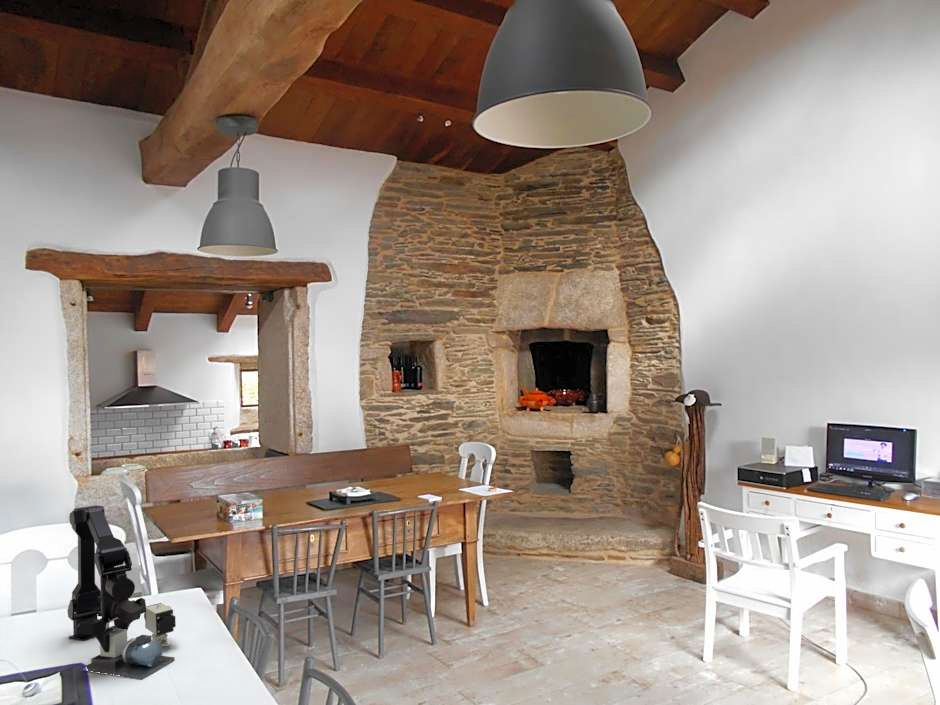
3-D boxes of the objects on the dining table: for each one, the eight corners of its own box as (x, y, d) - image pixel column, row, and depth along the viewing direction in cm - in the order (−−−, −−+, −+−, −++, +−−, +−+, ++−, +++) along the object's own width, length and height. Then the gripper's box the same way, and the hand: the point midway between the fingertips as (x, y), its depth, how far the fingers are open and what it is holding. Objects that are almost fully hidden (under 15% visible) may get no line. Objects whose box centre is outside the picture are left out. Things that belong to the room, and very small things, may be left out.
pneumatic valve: (159, 653, 207) (158, 611, 207) (144, 642, 215) (142, 602, 215) (179, 648, 211) (177, 606, 211) (163, 637, 219) (161, 597, 219)
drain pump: (100, 655, 199) (99, 629, 199) (113, 649, 204) (112, 623, 204) (114, 657, 198) (114, 631, 198) (127, 651, 202) (126, 625, 202)
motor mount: (82, 671, 197) (81, 639, 197) (117, 653, 208) (116, 623, 208) (141, 679, 190) (140, 647, 190) (174, 660, 201) (173, 630, 201)
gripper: (108, 605, 189) (110, 666, 189) (160, 583, 207) (162, 638, 207) (75, 602, 193) (76, 661, 193) (129, 580, 211) (130, 634, 211)
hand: (113, 648), depth 201 cm, fingers closed on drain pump, 4 cm apart
